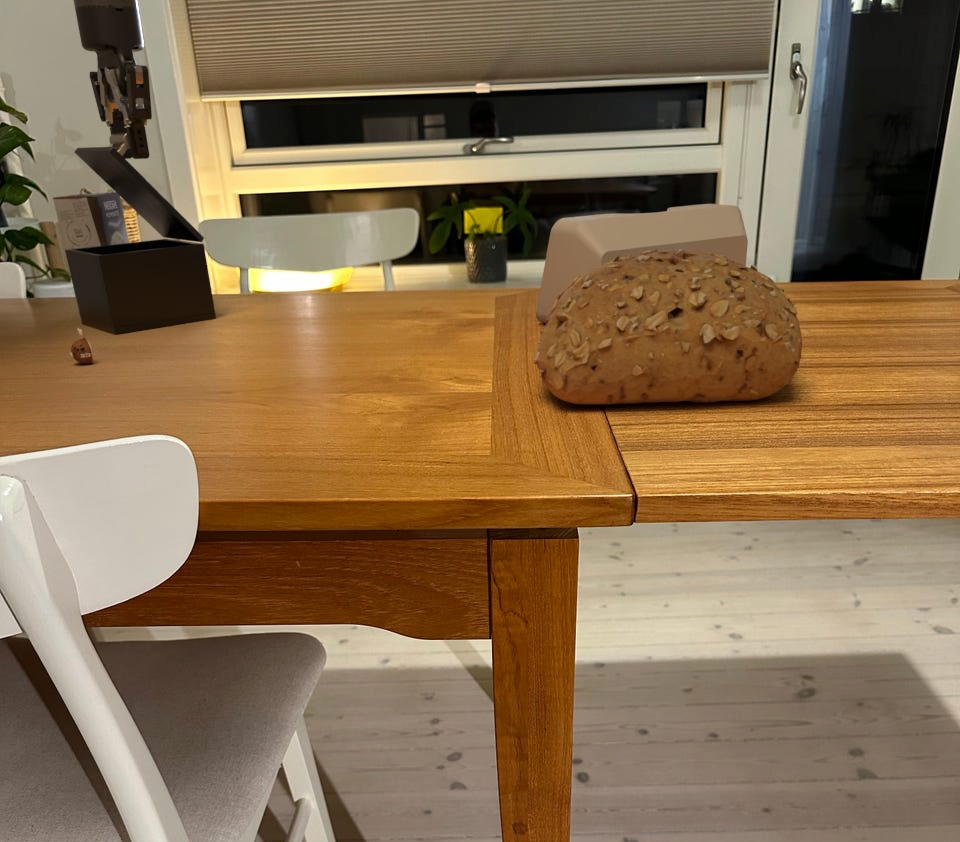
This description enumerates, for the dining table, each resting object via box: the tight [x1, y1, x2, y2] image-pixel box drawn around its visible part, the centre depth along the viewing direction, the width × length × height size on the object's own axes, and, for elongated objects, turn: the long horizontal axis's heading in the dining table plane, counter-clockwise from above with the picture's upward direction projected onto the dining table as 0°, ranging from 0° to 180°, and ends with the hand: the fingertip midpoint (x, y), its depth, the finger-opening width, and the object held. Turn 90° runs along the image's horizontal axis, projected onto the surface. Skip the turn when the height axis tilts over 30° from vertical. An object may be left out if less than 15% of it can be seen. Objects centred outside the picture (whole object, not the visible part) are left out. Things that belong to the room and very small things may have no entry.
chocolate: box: [69, 328, 94, 365], centre depth 110 cm, size 3×2×4 cm
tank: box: [535, 203, 749, 324], centre depth 117 cm, size 25×16×12 cm, turn 119°
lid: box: [74, 133, 205, 243], centre depth 129 cm, size 15×13×5 cm
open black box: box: [64, 238, 217, 335], centre depth 133 cm, size 15×13×10 cm
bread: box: [532, 249, 803, 406], centre depth 89 cm, size 24×21×12 cm
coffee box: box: [52, 191, 130, 315], centre depth 141 cm, size 9×6×16 cm
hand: (132, 158), depth 126 cm, fingers closed on lid, 5 cm apart
